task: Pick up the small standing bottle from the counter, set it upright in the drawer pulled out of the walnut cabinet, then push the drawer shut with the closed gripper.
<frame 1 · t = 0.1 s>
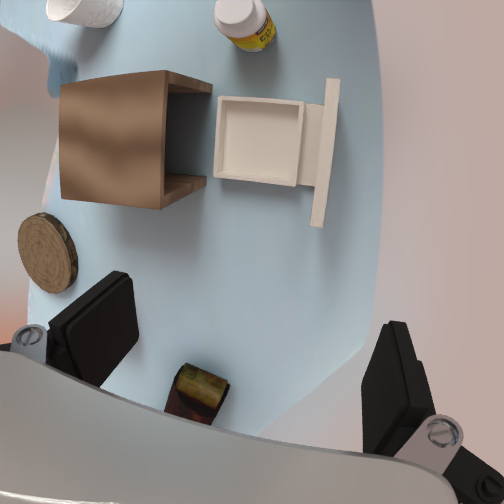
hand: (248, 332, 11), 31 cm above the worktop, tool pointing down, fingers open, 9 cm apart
white cup: (107, 10, 35), on the worktop
packaged item: (189, 412, 62), on the worktop
drawer: (267, 142, 33), point 6 cm above the worktop, slide at 14.0 cm
cabinet: (161, 133, 41), on the worktop
supplement bottle: (255, 34, 33), on the worktop
brown round disc: (52, 250, 54), on the worktop
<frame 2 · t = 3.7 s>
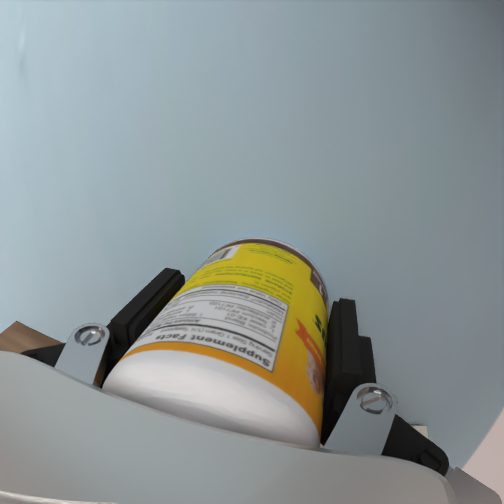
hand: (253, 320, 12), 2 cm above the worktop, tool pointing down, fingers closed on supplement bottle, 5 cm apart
cabinet: (98, 411, 21), on the worktop
supplement bottle: (264, 291, 14), on the worktop, touching gripper
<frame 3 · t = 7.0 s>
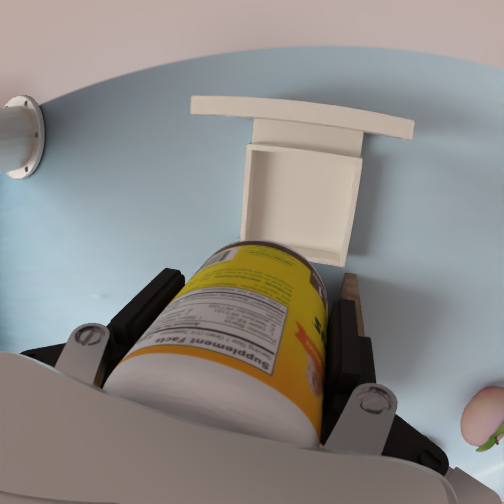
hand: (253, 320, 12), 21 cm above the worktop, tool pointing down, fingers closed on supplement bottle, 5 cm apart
drawer: (297, 193, 25), point 6 cm above the worktop, slide at 14.0 cm
decorative fruit: (478, 393, 35), on the worktop
cabinet: (283, 319, 36), on the worktop
supplement bottle: (264, 293, 14), point 19 cm above the worktop, touching gripper
when the fingers open (5 cm above the worktop, at t = 10.3 s): supplement bottle drops 2 cm, resting on drawer.
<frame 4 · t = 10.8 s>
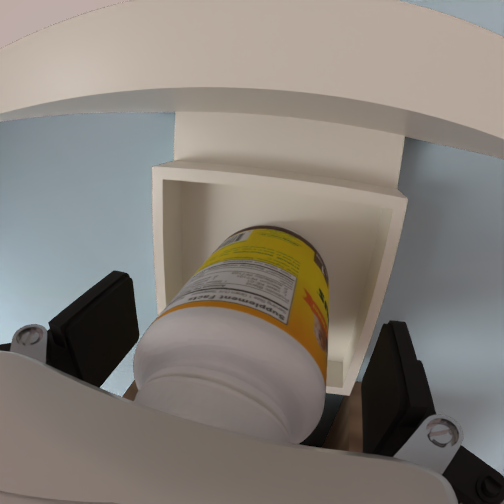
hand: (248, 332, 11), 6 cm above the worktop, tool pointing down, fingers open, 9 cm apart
drawer: (251, 291, 10), point 6 cm above the worktop, slide at 14.0 cm, touching supplement bottle
cabinet: (252, 429, 22), on the worktop
supplement bottle: (271, 274, 15), point 1 cm above the worktop, touching drawer
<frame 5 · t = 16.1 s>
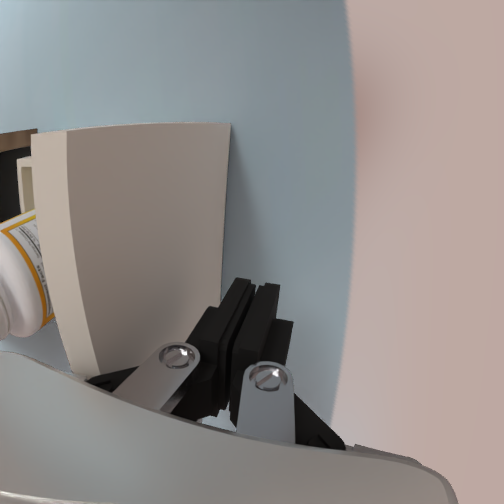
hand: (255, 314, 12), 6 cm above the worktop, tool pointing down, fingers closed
drawer: (62, 267, 14), point 6 cm above the worktop, slide at 13.5 cm, touching supplement bottle, gripper
supplement bottle: (94, 231, 19), point 1 cm above the worktop, touching drawer
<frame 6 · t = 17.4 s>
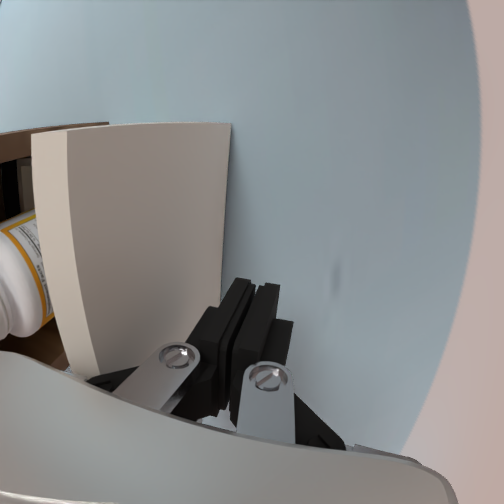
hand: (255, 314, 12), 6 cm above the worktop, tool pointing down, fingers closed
drawer: (62, 266, 14), point 6 cm above the worktop, slide at 6.3 cm, touching supplement bottle, gripper
cabinet: (42, 216, 21), on the worktop
supplement bottle: (93, 231, 19), point 1 cm above the worktop, touching drawer
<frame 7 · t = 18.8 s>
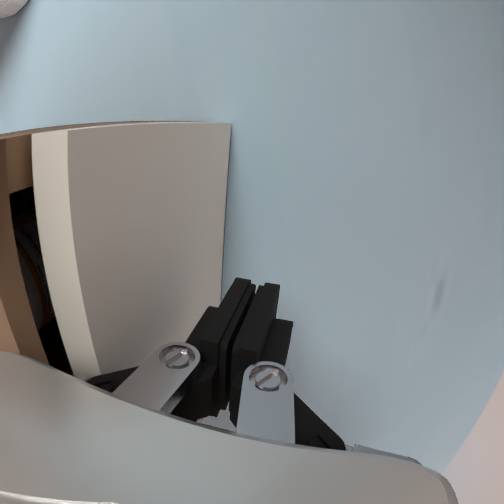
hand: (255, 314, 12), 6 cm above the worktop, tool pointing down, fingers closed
drawer: (62, 267, 14), point 6 cm above the worktop, slide at -0.1 cm, touching supplement bottle, gripper
cabinet: (103, 226, 20), on the worktop
supplement bottle: (94, 231, 19), point 1 cm above the worktop, touching drawer
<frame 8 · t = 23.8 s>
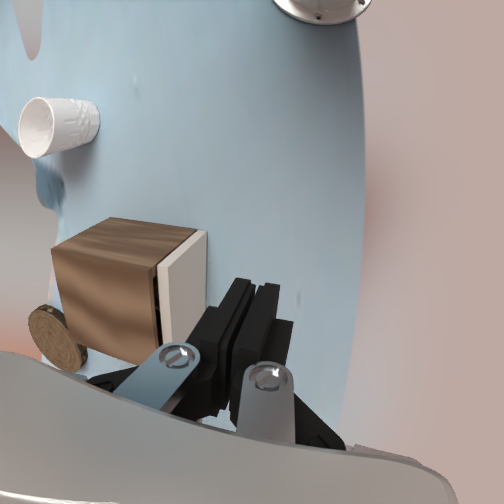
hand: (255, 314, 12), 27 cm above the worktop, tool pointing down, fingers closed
white cup: (84, 122, 40), on the worktop
drawer: (142, 287, 40), point 6 cm above the worktop, slide at 0.0 cm, touching supplement bottle
cabinet: (152, 266, 46), on the worktop
brown round disc: (61, 335, 59), on the worktop
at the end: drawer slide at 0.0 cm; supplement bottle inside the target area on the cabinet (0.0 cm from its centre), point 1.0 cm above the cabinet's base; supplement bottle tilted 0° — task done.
